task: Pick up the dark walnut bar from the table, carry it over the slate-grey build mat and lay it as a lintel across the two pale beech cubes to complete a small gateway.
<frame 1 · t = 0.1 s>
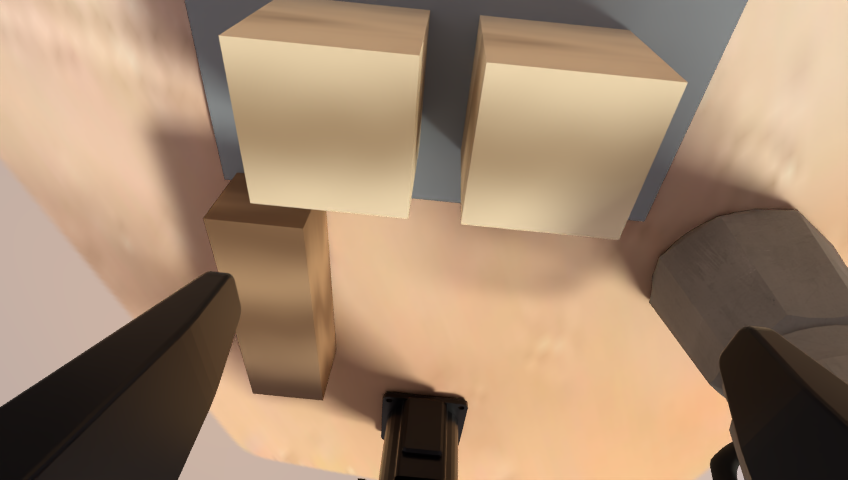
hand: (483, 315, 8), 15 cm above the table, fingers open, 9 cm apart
beech cube 1: (537, 95, 20), resting on build mat
coffeepot: (718, 282, 27), on the table
beech cube 2: (356, 77, 20), resting on build mat
walnut lintel: (294, 275, 28), on the table, touching build mat
build mat: (447, 85, 20), on the table
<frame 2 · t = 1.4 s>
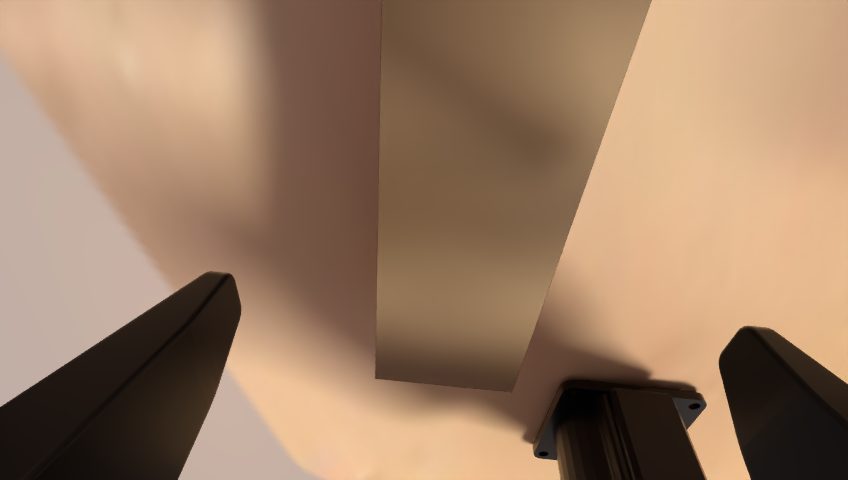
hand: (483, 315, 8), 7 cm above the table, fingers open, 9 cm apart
walnut lintel: (472, 134, 14), on the table, touching build mat
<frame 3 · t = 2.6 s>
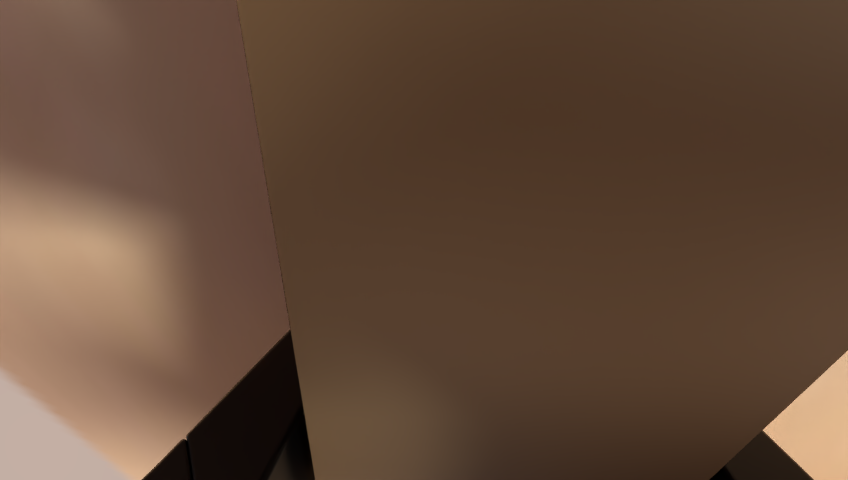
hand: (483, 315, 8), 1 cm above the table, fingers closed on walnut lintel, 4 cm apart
walnut lintel: (481, 279, 9), on the table, touching build mat, gripper
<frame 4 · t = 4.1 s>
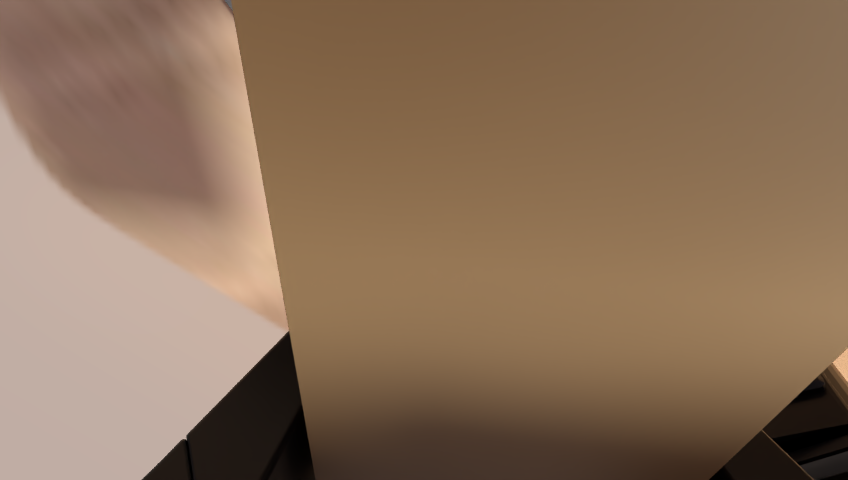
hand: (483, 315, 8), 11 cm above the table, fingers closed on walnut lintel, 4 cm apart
walnut lintel: (481, 280, 9), point 10 cm above the table, touching gripper
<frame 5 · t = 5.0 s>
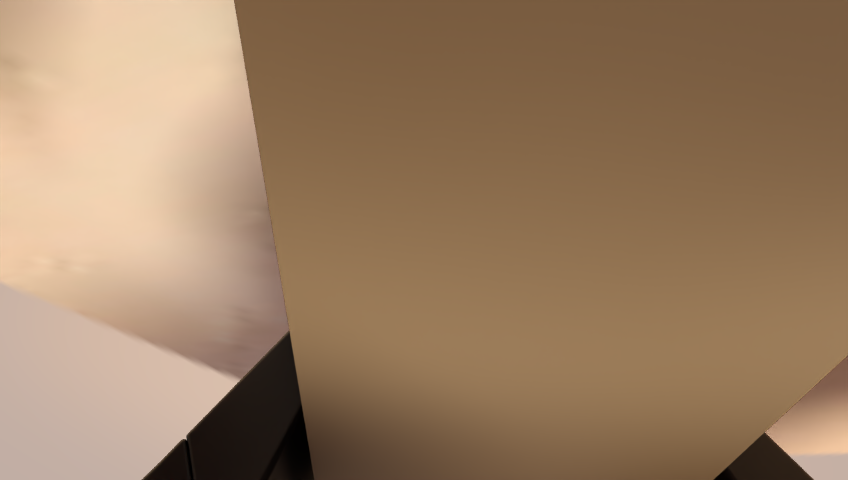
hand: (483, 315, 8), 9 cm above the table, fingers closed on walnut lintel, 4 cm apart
walnut lintel: (481, 280, 9), point 8 cm above the table, touching gripper
when the fingers open (8 cm above the table, at t = 5.5 s): walnut lintel stays where it is, resting on beech cube 2, beech cube 1.
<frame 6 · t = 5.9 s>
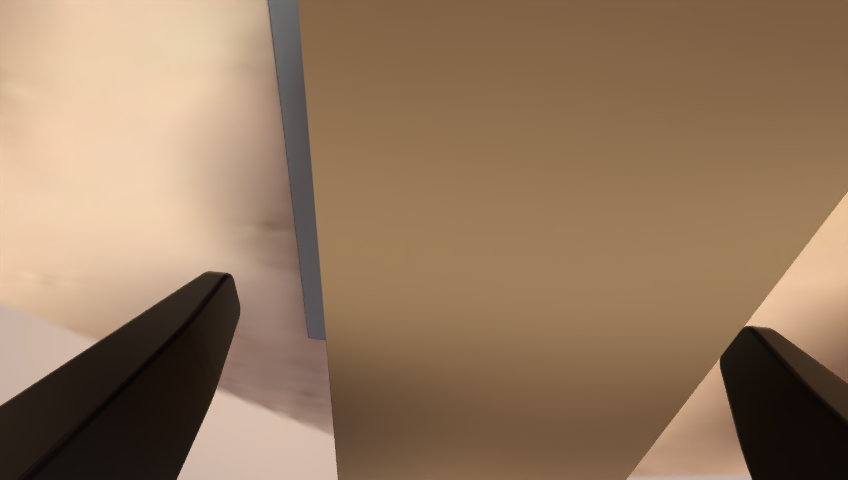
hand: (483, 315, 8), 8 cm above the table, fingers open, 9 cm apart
walnut lintel: (481, 250, 10), point 6 cm above the table, touching beech cube 2, beech cube 1
build mat: (472, 126, 14), on the table
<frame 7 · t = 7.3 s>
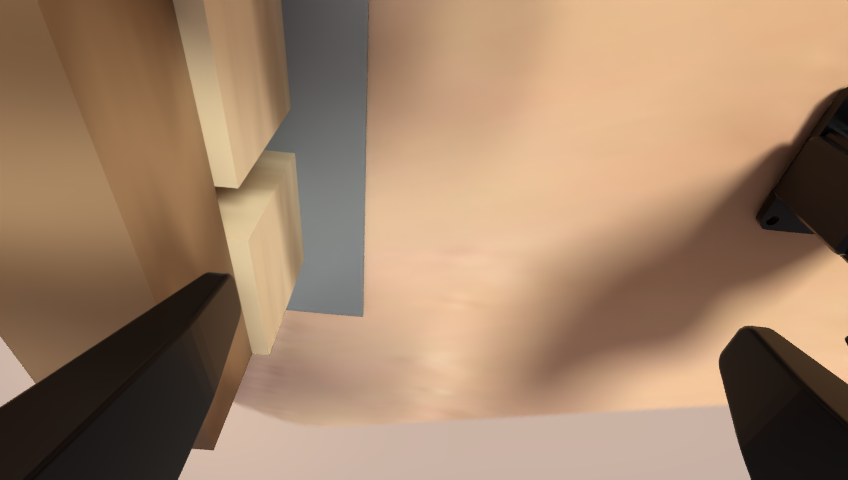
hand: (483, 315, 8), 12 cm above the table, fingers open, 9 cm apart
beech cube 1: (199, 19, 16), resting on build mat, touching walnut lintel
beech cube 2: (235, 204, 21), resting on build mat, touching walnut lintel
walnut lintel: (147, 206, 14), point 6 cm above the table, touching beech cube 2, beech cube 1
build mat: (221, 121, 19), on the table
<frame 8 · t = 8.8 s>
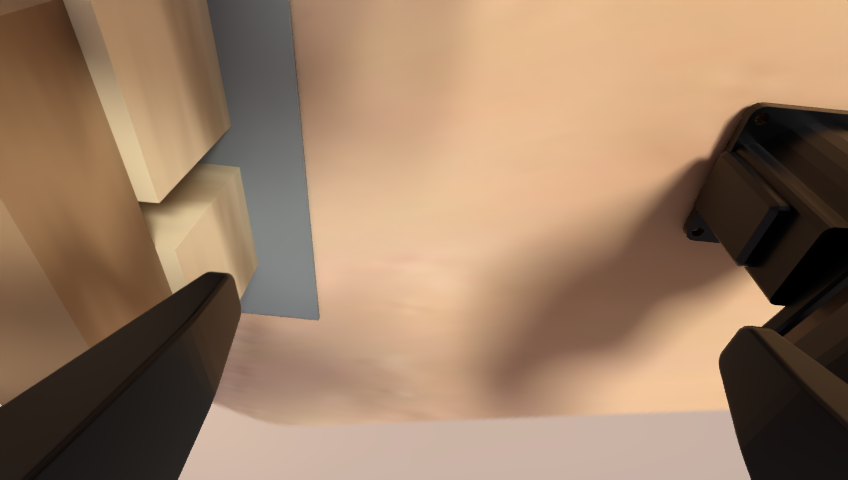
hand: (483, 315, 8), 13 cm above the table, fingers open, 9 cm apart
beech cube 1: (140, 46, 18), resting on build mat, touching walnut lintel
beech cube 2: (189, 213, 23), resting on build mat, touching walnut lintel
walnut lintel: (81, 218, 16), point 6 cm above the table, touching beech cube 2, beech cube 1
build mat: (170, 138, 21), on the table
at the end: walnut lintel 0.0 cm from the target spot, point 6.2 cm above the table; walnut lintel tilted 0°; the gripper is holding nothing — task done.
